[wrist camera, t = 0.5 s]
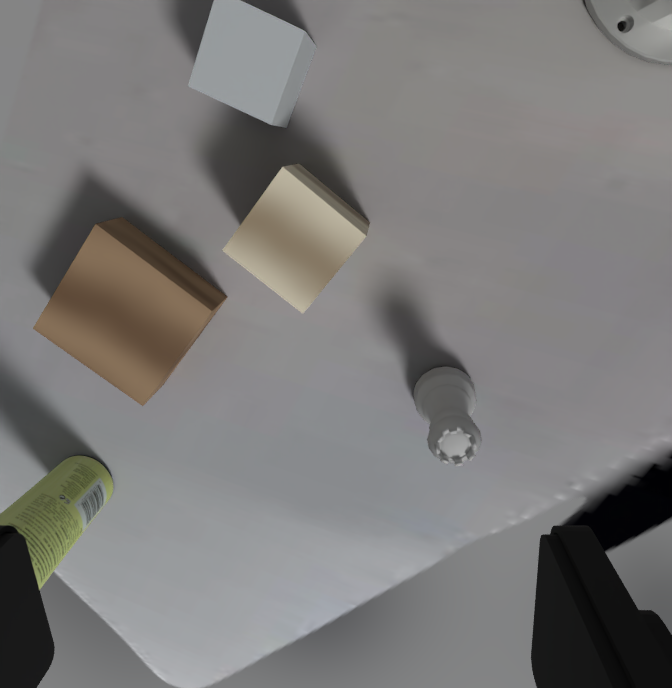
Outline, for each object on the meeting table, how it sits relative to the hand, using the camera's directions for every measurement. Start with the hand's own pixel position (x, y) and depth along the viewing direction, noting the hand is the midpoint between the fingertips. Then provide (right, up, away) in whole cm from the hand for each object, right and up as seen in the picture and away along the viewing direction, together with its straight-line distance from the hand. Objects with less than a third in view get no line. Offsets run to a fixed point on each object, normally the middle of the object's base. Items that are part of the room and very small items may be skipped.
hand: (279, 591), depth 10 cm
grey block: (-3, +21, +24) cm, 33 cm away
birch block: (-1, +12, +27) cm, 30 cm away
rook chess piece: (+9, +1, +31) cm, 32 cm away
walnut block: (-13, +7, +31) cm, 34 cm away
